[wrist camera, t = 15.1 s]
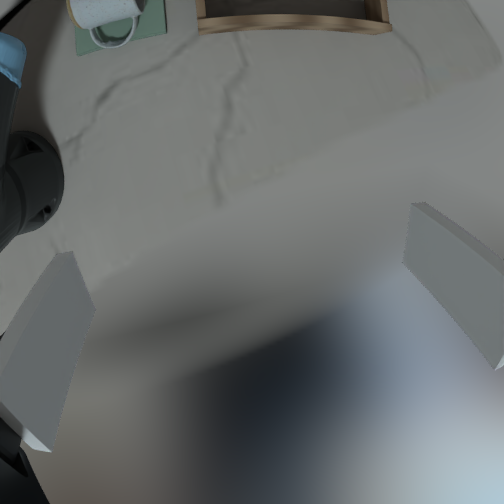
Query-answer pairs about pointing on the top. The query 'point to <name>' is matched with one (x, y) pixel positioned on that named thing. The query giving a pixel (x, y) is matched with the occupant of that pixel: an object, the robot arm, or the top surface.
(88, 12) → the ceramic mug
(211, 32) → the open wooden box frame
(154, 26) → the rubber mat
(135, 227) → the top surface
